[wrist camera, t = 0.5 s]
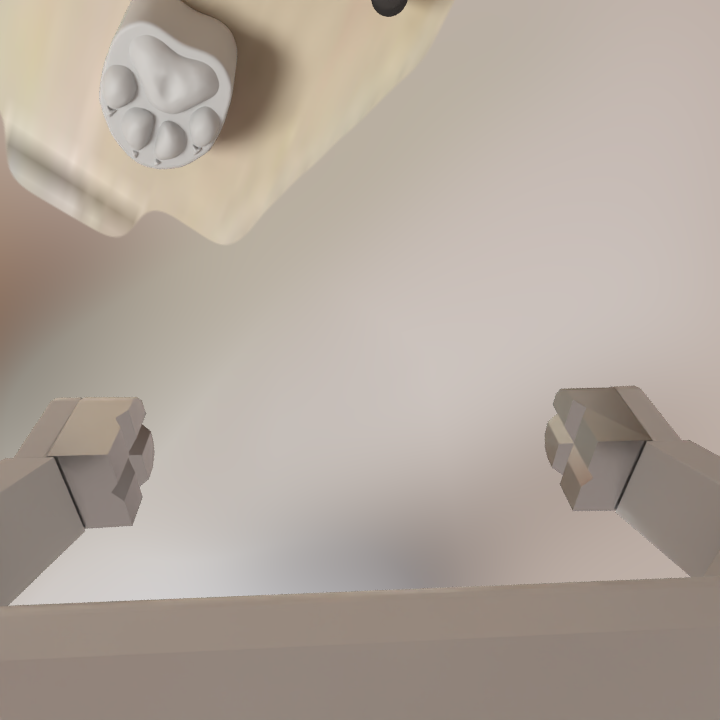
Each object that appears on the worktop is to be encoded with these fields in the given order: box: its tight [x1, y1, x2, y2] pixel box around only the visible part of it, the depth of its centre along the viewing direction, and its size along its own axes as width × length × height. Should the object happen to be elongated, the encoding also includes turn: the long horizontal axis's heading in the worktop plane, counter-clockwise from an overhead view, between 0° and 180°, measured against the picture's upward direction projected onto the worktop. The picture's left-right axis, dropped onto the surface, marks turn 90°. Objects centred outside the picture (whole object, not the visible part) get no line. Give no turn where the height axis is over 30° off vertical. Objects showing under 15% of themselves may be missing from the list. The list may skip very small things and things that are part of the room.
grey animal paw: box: [99, 0, 237, 169], centre depth 50 cm, size 10×13×9 cm
